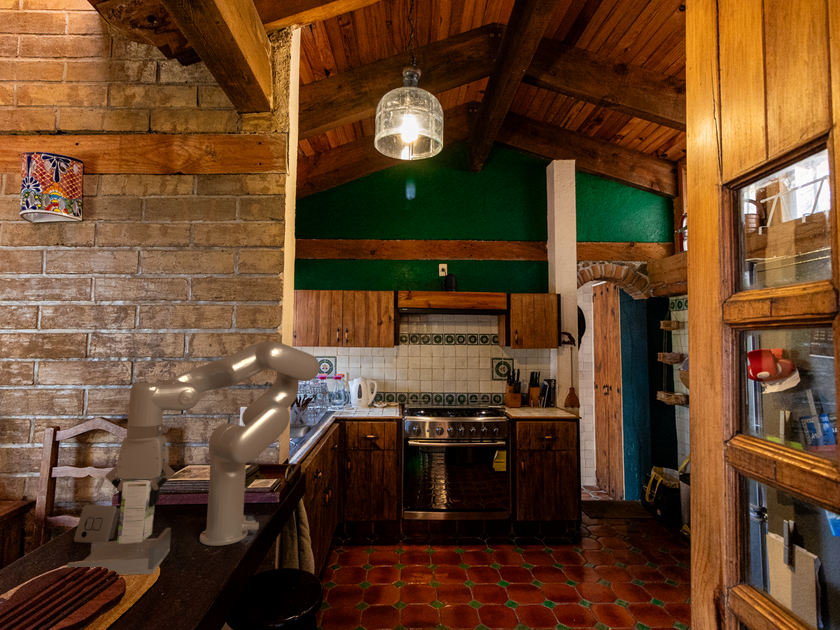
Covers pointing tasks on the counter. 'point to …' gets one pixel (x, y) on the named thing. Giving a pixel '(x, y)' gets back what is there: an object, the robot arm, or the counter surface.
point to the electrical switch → (97, 523)
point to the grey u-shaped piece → (128, 555)
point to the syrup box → (135, 512)
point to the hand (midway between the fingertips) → (138, 504)
